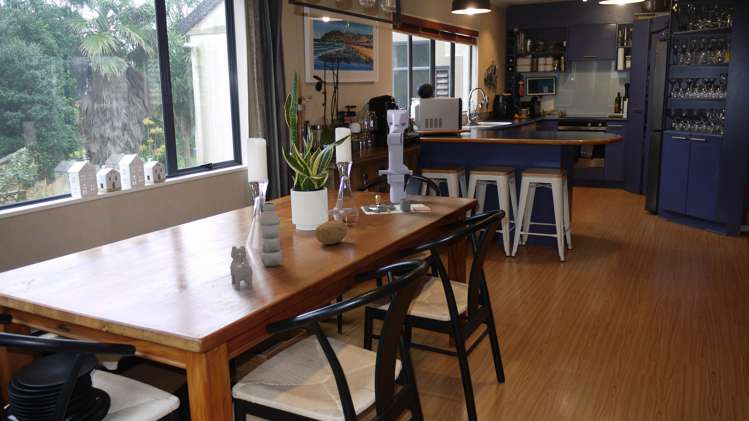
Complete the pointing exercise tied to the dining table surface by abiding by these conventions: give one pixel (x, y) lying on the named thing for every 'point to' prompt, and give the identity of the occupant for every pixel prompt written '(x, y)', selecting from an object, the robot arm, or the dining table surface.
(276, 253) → the grey tiered tower
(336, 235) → the potato
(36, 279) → the dining table surface
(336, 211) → the pipe connector
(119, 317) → the dining table surface
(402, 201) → the grey rectangular block
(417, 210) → the board
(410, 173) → the robot arm
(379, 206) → the sprocket
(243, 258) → the dog figurine
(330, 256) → the dining table surface
